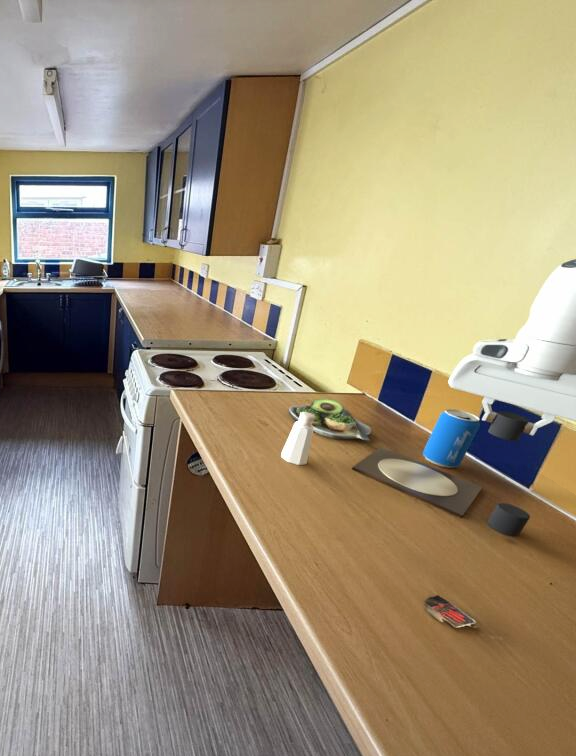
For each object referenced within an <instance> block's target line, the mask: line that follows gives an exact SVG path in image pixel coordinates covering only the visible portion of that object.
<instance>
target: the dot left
mask: <svg viewBox="0 0 576 756" xmlns="http://www.w3.org/2000/svg"><path fill="white" fill-rule="evenodd" d="M496 413H497V415H496V417H495V419H494V421H493V423H490V426H489V429H488V430H487V432H488V433H489V434H490V435H492V436H494V437H497V438H499V439H503V440H505V441H506V440H507V441H512V442H518V441H519V439H520V438H521V436H522V435H523V433H522V431H523V429H525V426H526V424H527V423H528V422H530V420H529V418H527V417H525V416H523V415H521V414H520V415H519V414H517V413H513V412H508V411H504V410H503V411H501V410H500V411H498V412H496Z"/></svg>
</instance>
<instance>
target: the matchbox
mask: <svg viewBox="0 0 576 756" xmlns="http://www.w3.org/2000/svg"><path fill="white" fill-rule="evenodd" d="M423 603H424V604H426V606H425V607H424V608H425V609H424V610H425V611H427V613H428V614H429V615H430V616H432V617H433V618H435V619H436V620H437V621H439V622H441V623H444V621H445V622H446V623H448V624H449V625H451V626H452V627H454V628H458V629H459V628H461V627H465V626H468V627H471V628H473V629H477V628H478V627H479V624H476V623H477V621H476V620H475V619H474V618H472V617H471V616H469V615H468V614H467V613H466V612H464V611H462V610H461V609H459V608H458V607H457V606H456V605H455V604H454V603H453V602H451V601H449V600H447V599H445V598H443V597H442V596H440V595H439V594H435V595H432V596H428V597H427V598H426V599H425V600H424V601H423ZM472 625H473V626H472Z"/></svg>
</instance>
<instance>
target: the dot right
mask: <svg viewBox="0 0 576 756" xmlns="http://www.w3.org/2000/svg"><path fill="white" fill-rule="evenodd" d="M530 518H531V515H530V514H529V513H528V512H527V511H525V510H524V509H522V508H521V507H518V506H515V505H513V504H510V503H504V502H499V503H497V504H496V506H495V508H494V509H493V511H492V513H491V515H490V517H489V518H488V519H487V525H488V526H489V527H490V528H491V529H493V530H495V531H496V532H498V533H501V534H503V535H506V536H510V537H519V535H520V534H521V533H522V532H523V530H524V528H525V526H526V525H527V523H528V521H529V519H530Z"/></svg>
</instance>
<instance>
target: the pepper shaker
mask: <svg viewBox="0 0 576 756" xmlns="http://www.w3.org/2000/svg"><path fill="white" fill-rule="evenodd" d="M314 419H315V416H314V415H313V414H311V413H308V412H301V413H300V417H299V421H295V422H294V424H293V426H292V429H291V431H290V433H289V435H288V438H287V439H286V442H285V444H284V446H283V448H282V451H281V454H280V457H281V458H282V459H283V460H285V461H286V462H288V463H290V464H292V465H296V466H303V465H307V464H308V459H309V455H310V450H311V445H312V440H313V434H314V431H313V425H312V423H313V421H314Z"/></svg>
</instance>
